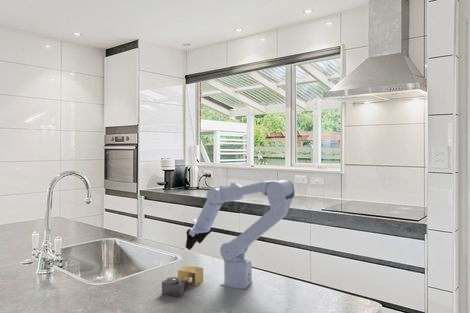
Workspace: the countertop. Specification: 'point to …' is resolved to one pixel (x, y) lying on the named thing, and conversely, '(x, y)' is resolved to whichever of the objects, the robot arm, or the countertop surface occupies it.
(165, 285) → the coupler
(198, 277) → the coupler lock
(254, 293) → the countertop surface
